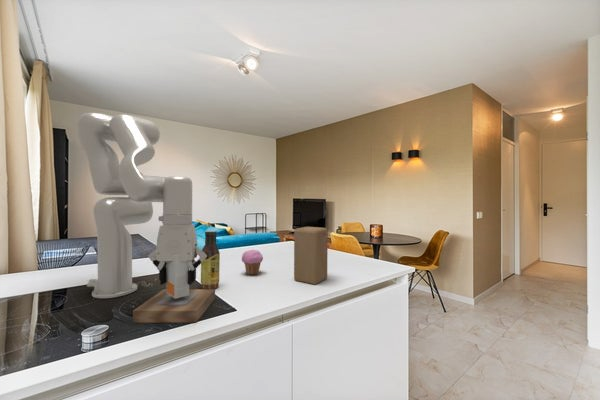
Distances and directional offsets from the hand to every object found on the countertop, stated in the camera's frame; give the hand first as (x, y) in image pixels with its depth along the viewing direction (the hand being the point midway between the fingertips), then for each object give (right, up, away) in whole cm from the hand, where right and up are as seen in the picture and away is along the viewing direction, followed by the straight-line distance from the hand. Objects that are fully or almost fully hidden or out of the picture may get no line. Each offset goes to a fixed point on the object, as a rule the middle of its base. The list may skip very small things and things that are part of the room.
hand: (177, 282), depth 78 cm
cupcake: (+15, -7, +36) cm, 40 cm away
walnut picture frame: (0, -8, 0) cm, 8 cm away
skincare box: (0, -4, 0) cm, 4 cm away
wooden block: (+39, -8, +28) cm, 49 cm away
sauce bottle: (+3, -8, +19) cm, 21 cm away
